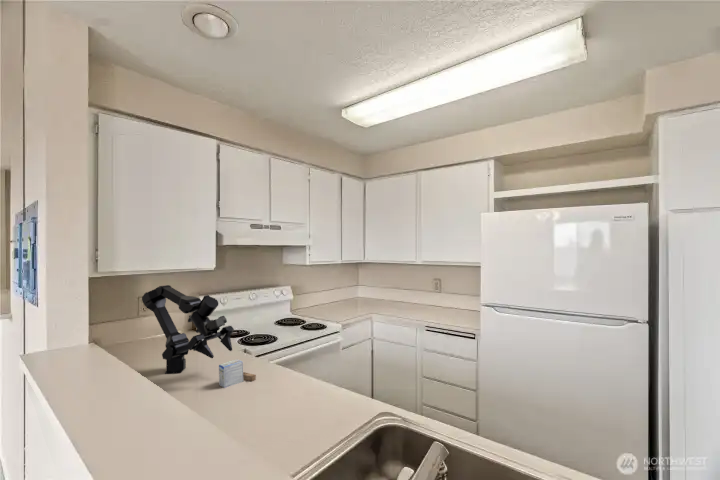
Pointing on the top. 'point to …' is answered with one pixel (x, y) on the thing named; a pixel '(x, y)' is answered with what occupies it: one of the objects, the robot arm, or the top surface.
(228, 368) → the medicine box
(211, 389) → the top surface
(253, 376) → the walnut tipping strip
